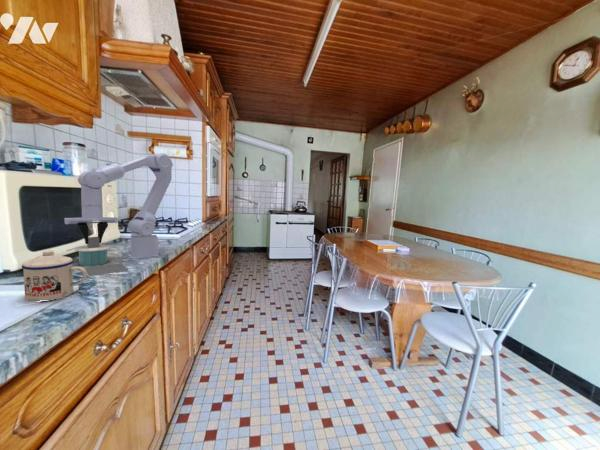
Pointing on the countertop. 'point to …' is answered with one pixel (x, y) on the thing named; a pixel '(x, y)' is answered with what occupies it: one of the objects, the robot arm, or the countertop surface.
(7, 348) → the countertop surface
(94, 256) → the bowl
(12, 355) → the countertop surface
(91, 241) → the lid
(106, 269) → the mat
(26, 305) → the countertop surface
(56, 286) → the teacup with lid
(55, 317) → the countertop surface
